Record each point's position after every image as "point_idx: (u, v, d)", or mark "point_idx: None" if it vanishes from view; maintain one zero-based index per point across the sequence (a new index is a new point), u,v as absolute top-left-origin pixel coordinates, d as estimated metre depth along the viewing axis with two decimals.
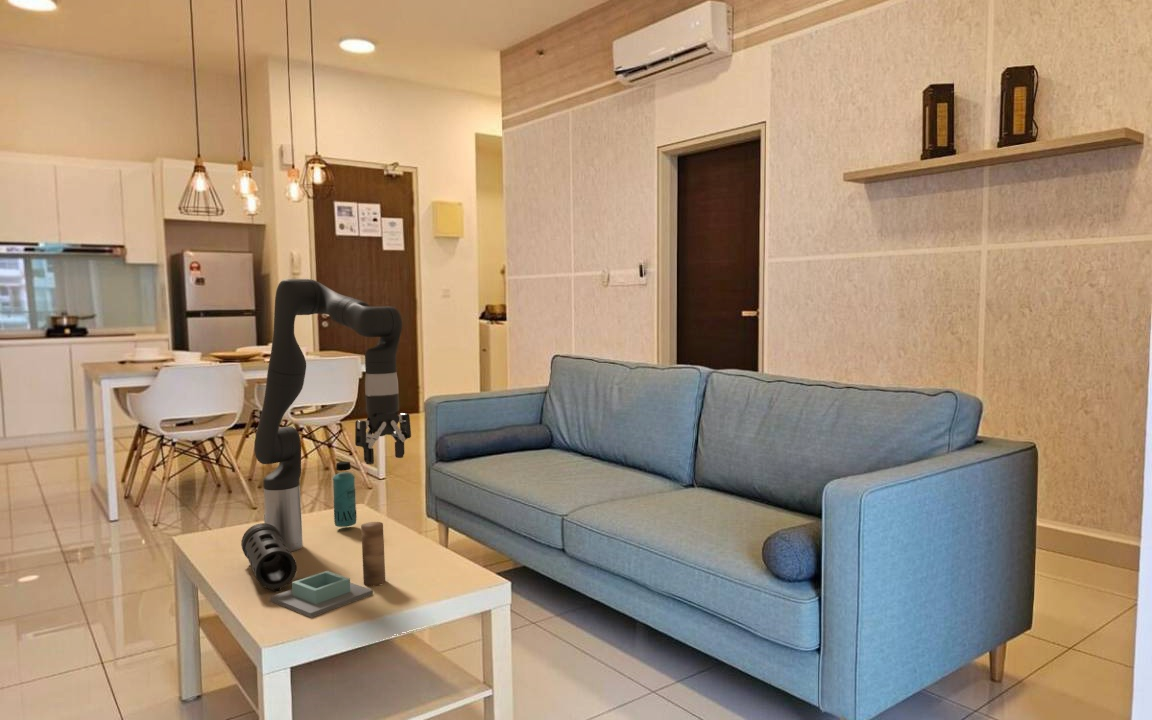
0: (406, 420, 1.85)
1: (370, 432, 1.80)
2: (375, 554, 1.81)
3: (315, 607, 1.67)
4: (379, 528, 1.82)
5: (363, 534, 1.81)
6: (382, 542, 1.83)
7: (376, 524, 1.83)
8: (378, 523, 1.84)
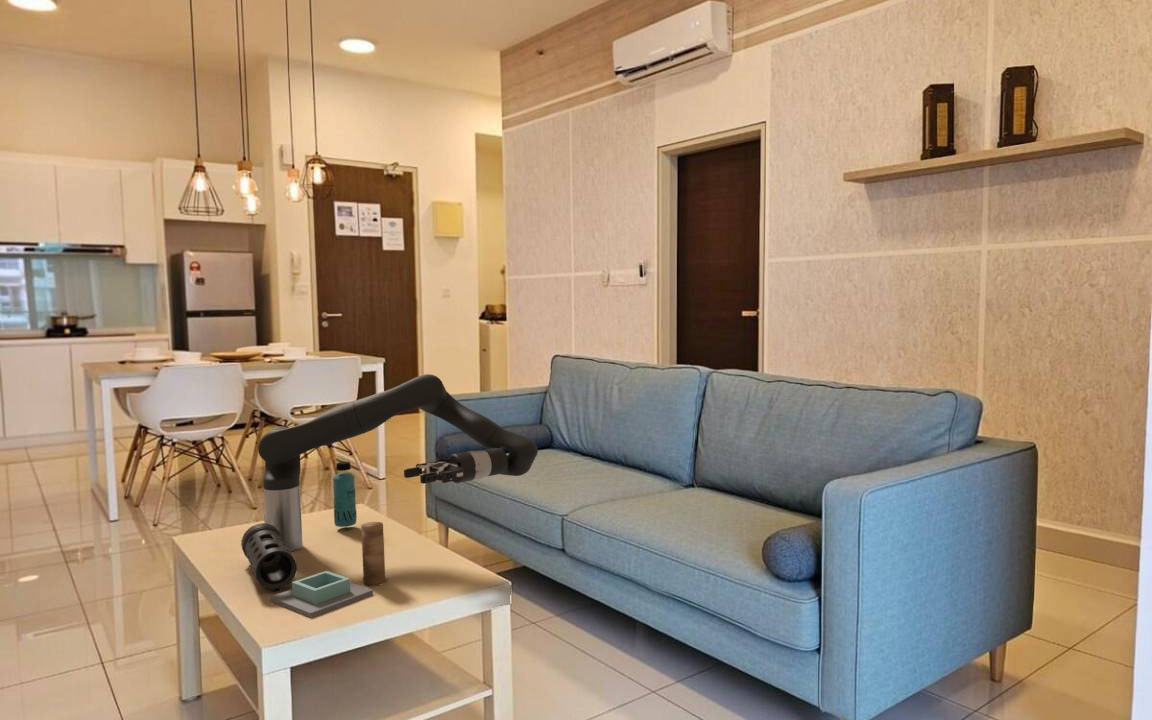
0: None
1: None
2: (375, 554, 1.81)
3: (315, 607, 1.67)
4: (379, 528, 1.82)
5: (363, 534, 1.81)
6: (383, 542, 1.83)
7: (376, 524, 1.83)
8: (378, 523, 1.84)
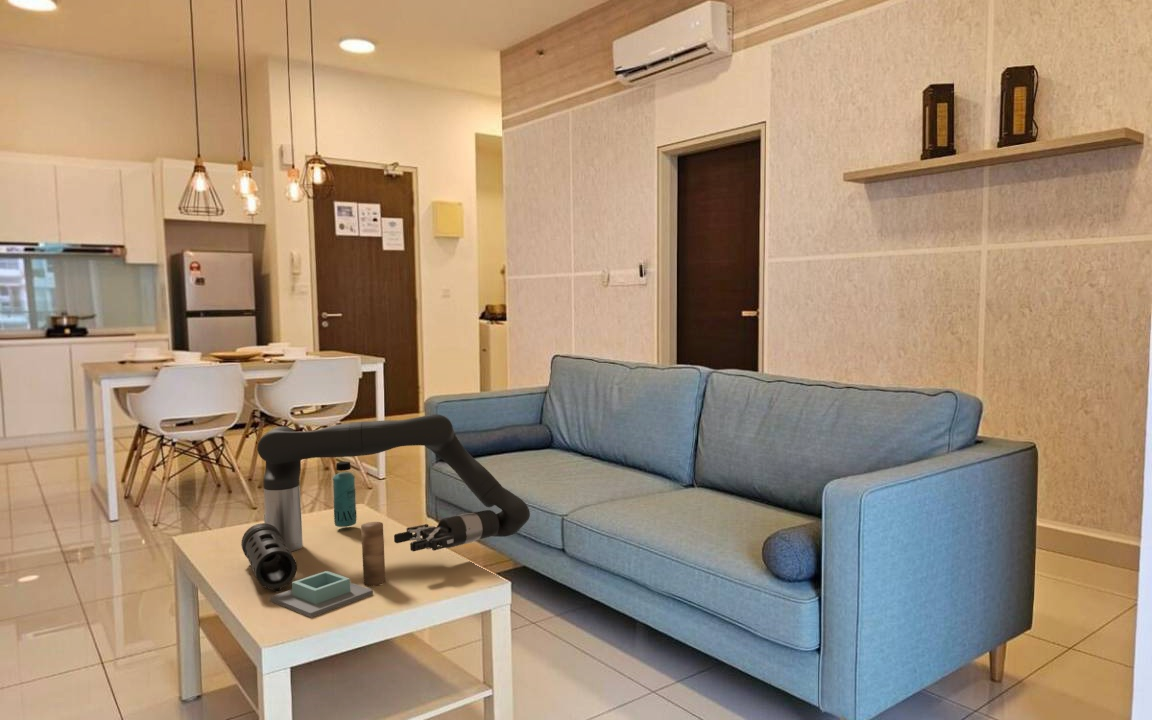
0: None
1: None
2: (375, 554, 1.81)
3: (315, 607, 1.67)
4: (379, 528, 1.82)
5: (363, 534, 1.81)
6: (382, 542, 1.83)
7: (376, 524, 1.83)
8: (378, 523, 1.84)
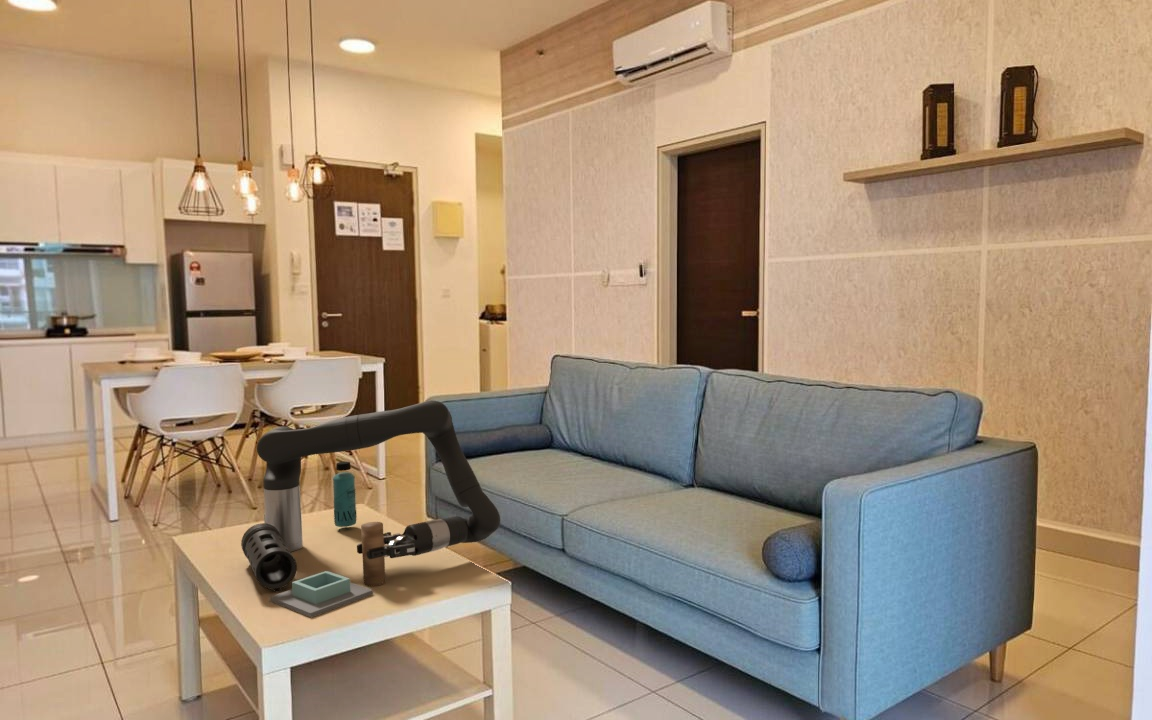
0: None
1: None
2: None
3: (315, 607, 1.67)
4: (379, 528, 1.82)
5: (363, 534, 1.81)
6: (382, 542, 1.83)
7: (376, 524, 1.83)
8: (378, 523, 1.84)
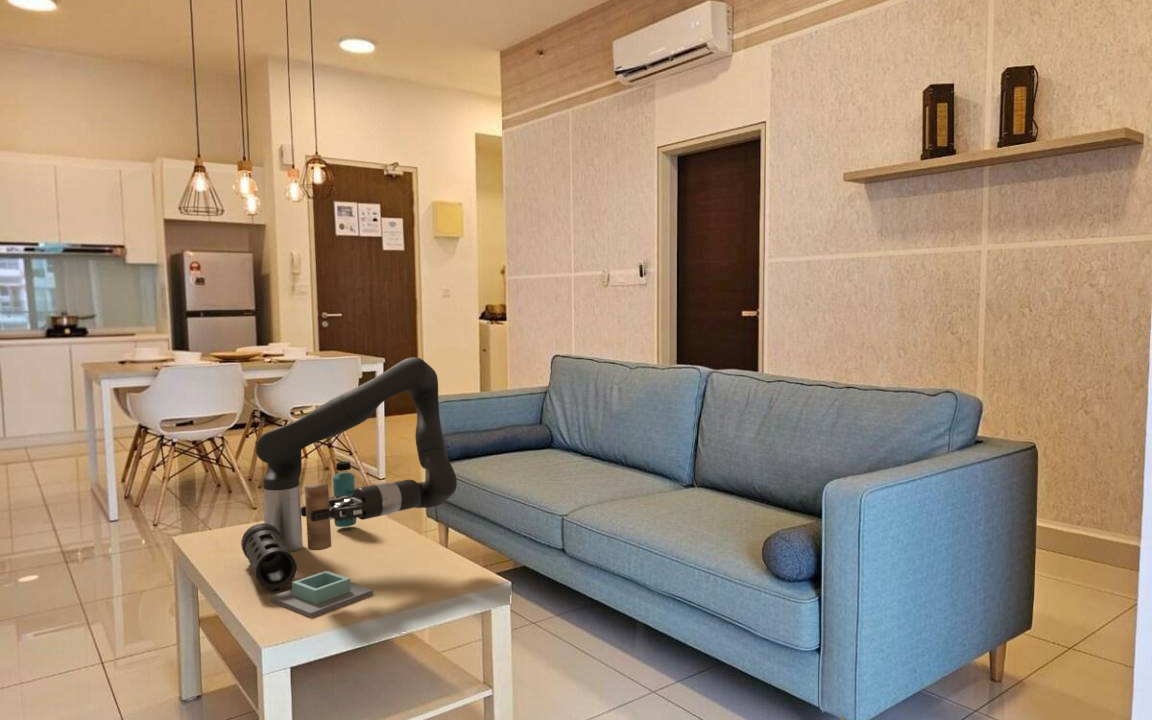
0: None
1: None
2: None
3: (315, 607, 1.67)
4: (323, 489, 1.72)
5: (306, 495, 1.72)
6: (328, 504, 1.73)
7: (321, 485, 1.74)
8: (323, 484, 1.74)
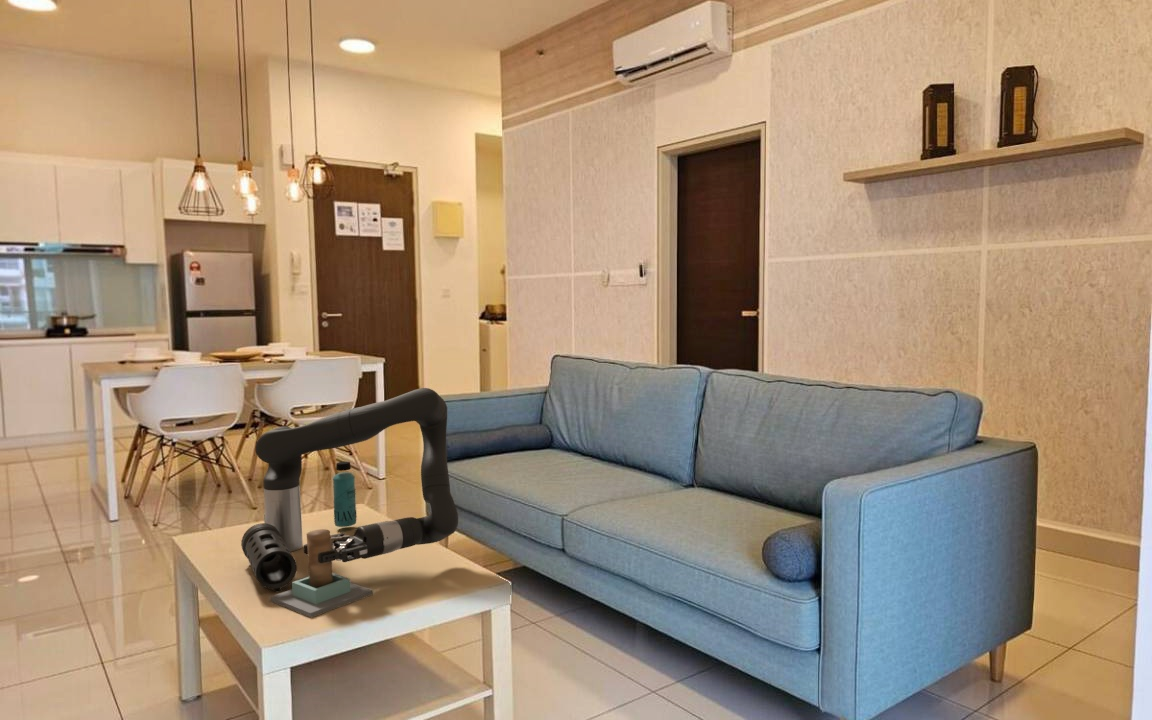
0: None
1: None
2: (321, 564, 1.72)
3: (315, 607, 1.67)
4: (325, 537, 1.73)
5: (308, 543, 1.72)
6: None
7: (323, 532, 1.74)
8: (325, 531, 1.75)
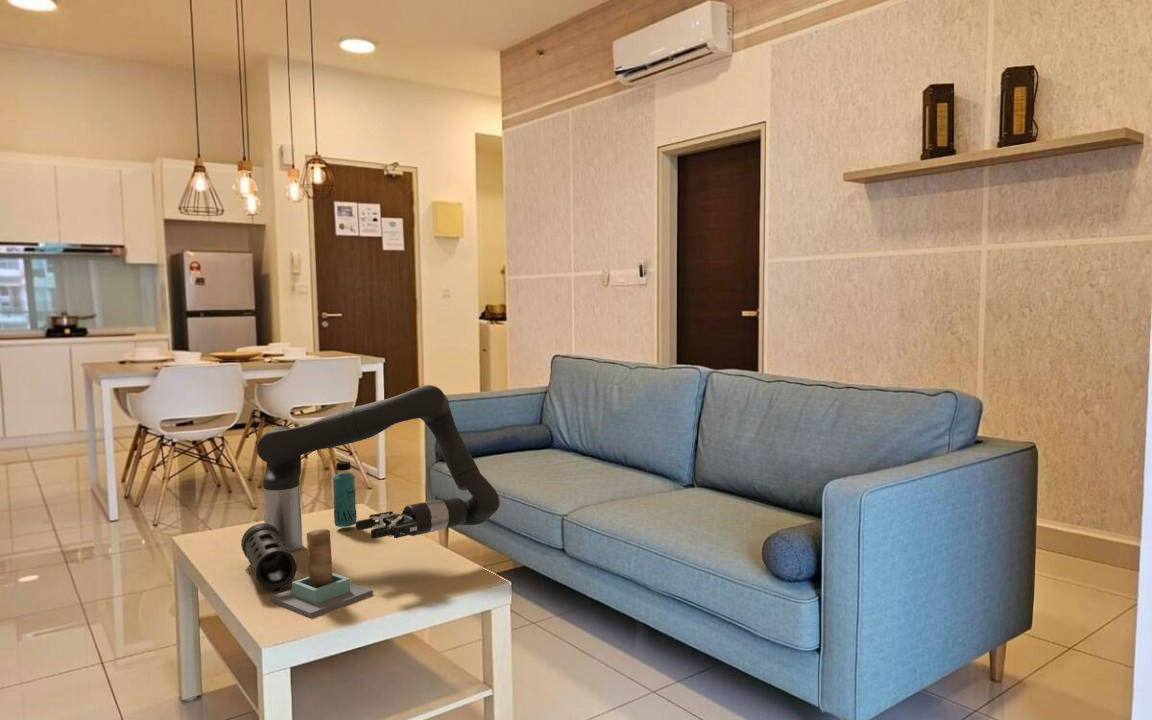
0: None
1: None
2: (321, 563, 1.73)
3: (315, 607, 1.67)
4: (325, 536, 1.73)
5: (308, 542, 1.73)
6: (329, 551, 1.74)
7: (322, 532, 1.74)
8: (325, 531, 1.75)
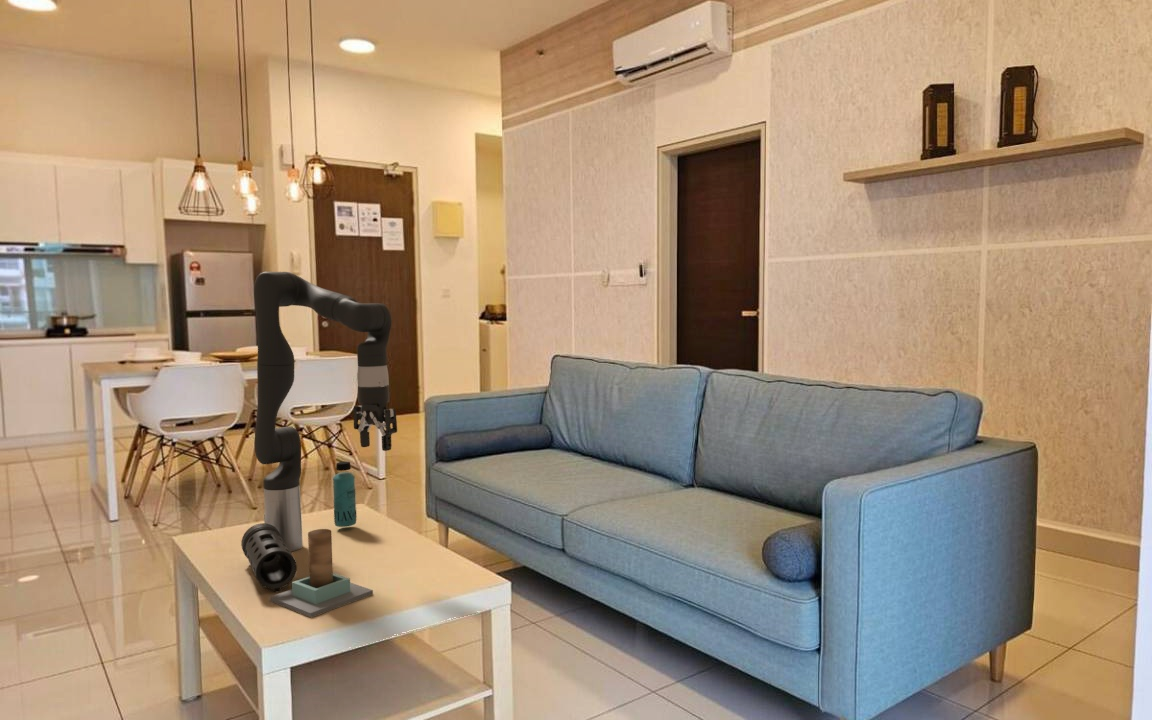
0: None
1: None
2: (322, 563, 1.73)
3: (315, 607, 1.67)
4: (326, 536, 1.73)
5: (309, 542, 1.73)
6: (330, 550, 1.74)
7: (324, 531, 1.75)
8: (326, 530, 1.76)
